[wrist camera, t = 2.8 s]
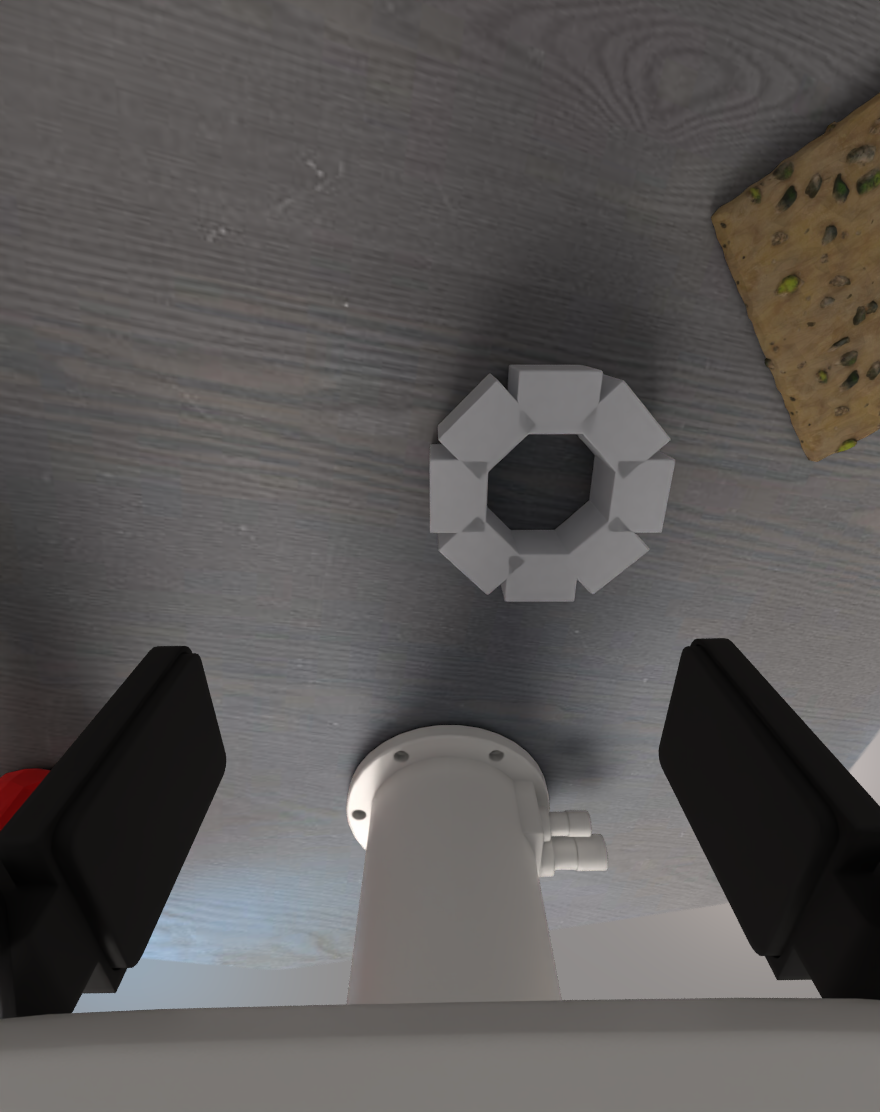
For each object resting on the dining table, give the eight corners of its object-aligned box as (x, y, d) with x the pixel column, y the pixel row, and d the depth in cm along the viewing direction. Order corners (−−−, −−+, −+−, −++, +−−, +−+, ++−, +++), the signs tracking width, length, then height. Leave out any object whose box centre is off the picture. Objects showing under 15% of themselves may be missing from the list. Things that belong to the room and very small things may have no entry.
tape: (661, 364, 22) (693, 370, 19) (626, 572, 26) (648, 601, 23) (429, 364, 22) (428, 369, 19) (430, 573, 26) (430, 602, 23)
